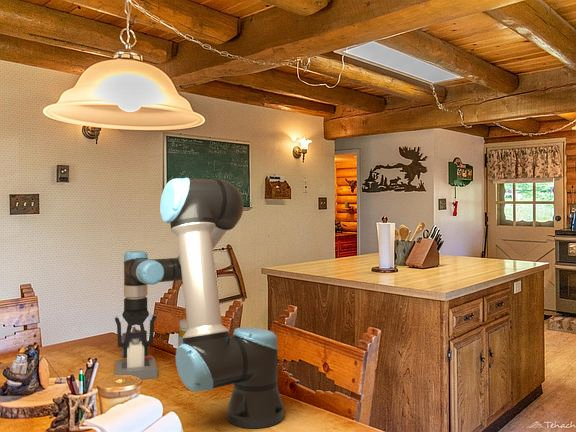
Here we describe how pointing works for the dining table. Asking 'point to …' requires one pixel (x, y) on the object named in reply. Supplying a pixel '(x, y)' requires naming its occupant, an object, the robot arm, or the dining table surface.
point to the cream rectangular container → (135, 353)
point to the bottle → (182, 331)
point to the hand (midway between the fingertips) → (135, 366)
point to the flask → (133, 336)
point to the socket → (137, 368)
